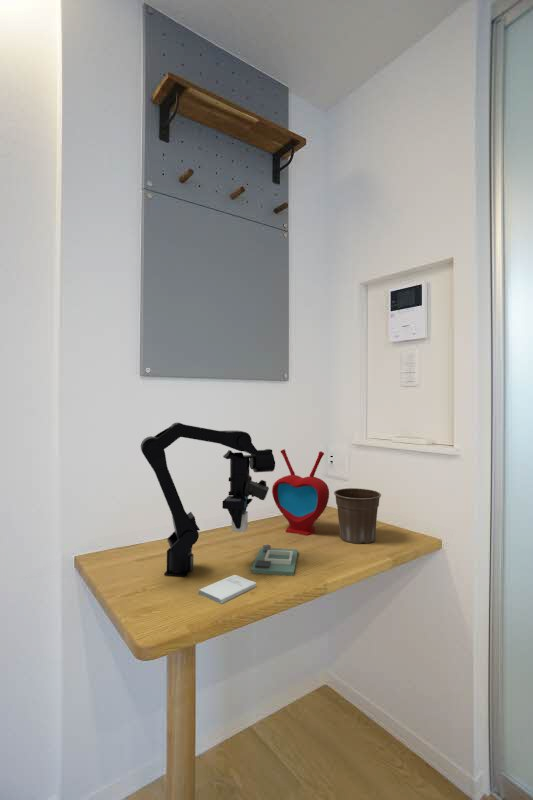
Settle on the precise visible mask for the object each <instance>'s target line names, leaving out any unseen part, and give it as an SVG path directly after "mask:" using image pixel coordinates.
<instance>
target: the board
mask: <svg viewBox="0 0 533 800" xmlns="http://www.w3.org/2000/svg"><path fill="white" fill-rule="evenodd" d="M298 552H299V551H298V549H296V548H295V549H294V548H276V547H271V545H270V544H264V545H262V547H259V550H258V552H257V554H256V556H255V558H254V561H253V564H252V565H251V568H250V574H258V575H274V574H275V575H276V574H277V575H276V576H291V575H292V576H295V569H296V563H297V558H298ZM292 576H291V577H292Z"/></svg>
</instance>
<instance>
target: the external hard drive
mask: <svg viewBox="0 0 533 800" xmlns="http://www.w3.org/2000/svg"><path fill="white" fill-rule="evenodd" d="M256 586H257V583H256V582H255V581H252V580H249V579H247V578H246V577H242V576H239V575H236V574H233V575H231V576H228V577H225V578H223V579H220V580H218V581H216V582H214V583H211V584H209V585H206V586H204V587H202V588H200V589H198V590H197V592H198V595H200V596H202V597H204V596H205V598H206V597H207V598H206V599H209V600H211V601H213V602H215V603H217V602H218V604H220V605H222V604H224V603H226V602H228V601H231V600H233V599H234V598H236V597H238V596H240V595H242V594H244V593H246V592H248V591H250V590H252V589H254V588H256Z"/></svg>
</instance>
